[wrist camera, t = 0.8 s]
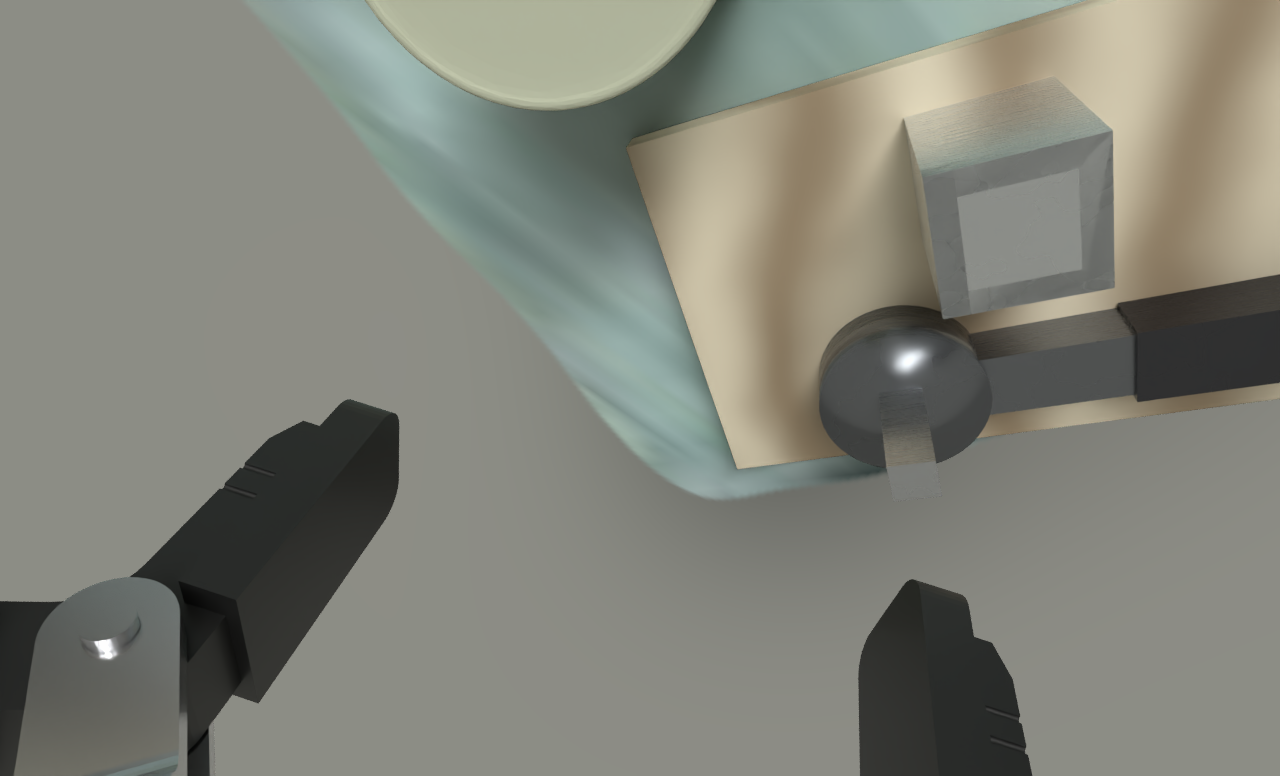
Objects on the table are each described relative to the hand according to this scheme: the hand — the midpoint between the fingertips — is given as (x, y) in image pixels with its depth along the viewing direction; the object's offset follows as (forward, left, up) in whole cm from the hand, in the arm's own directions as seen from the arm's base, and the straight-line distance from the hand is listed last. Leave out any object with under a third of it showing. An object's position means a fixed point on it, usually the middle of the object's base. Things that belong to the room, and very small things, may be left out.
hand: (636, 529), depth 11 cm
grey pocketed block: (-8, +3, -19) cm, 21 cm away
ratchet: (-9, +11, -19) cm, 24 cm away
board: (-8, +7, -21) cm, 23 cm away
